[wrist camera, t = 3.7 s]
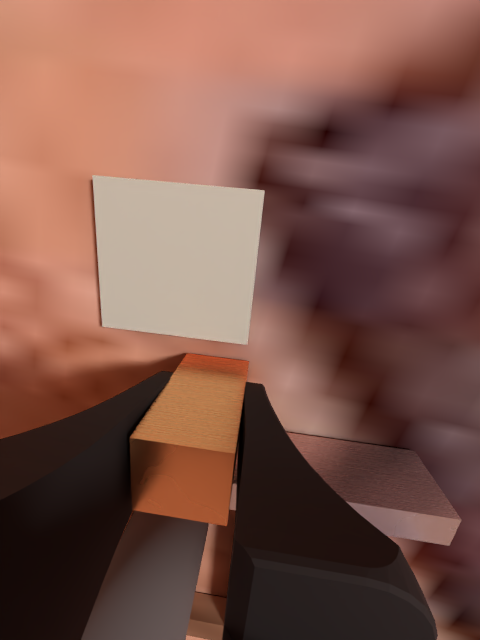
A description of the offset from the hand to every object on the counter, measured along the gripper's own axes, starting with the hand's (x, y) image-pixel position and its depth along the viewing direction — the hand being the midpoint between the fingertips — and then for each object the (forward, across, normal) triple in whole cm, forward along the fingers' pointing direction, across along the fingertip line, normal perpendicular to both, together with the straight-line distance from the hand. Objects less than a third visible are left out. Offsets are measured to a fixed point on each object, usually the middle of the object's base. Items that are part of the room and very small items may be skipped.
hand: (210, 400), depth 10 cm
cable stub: (+1, +2, +9) cm, 9 cm away
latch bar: (+1, -4, +1) cm, 4 cm away
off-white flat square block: (+1, +2, -5) cm, 5 cm away
